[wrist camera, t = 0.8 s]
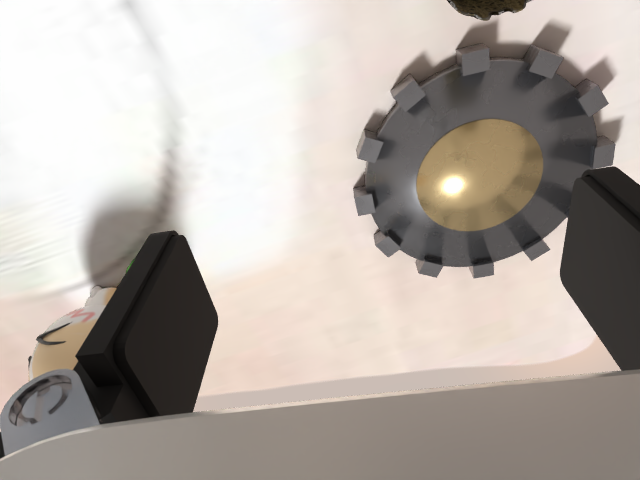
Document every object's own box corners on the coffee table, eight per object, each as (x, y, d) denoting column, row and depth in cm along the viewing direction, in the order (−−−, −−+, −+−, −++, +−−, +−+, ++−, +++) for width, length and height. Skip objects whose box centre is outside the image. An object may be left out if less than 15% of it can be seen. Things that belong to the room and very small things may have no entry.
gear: (329, 80, 36) (329, 86, 34) (621, 9, 33) (635, 12, 31) (374, 284, 48) (376, 295, 47) (589, 246, 45) (598, 256, 44)
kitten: (99, 234, 45) (13, 348, 32) (191, 276, 48) (145, 396, 35) (59, 322, 52) (-24, 444, 39) (141, 354, 55) (89, 476, 42)
